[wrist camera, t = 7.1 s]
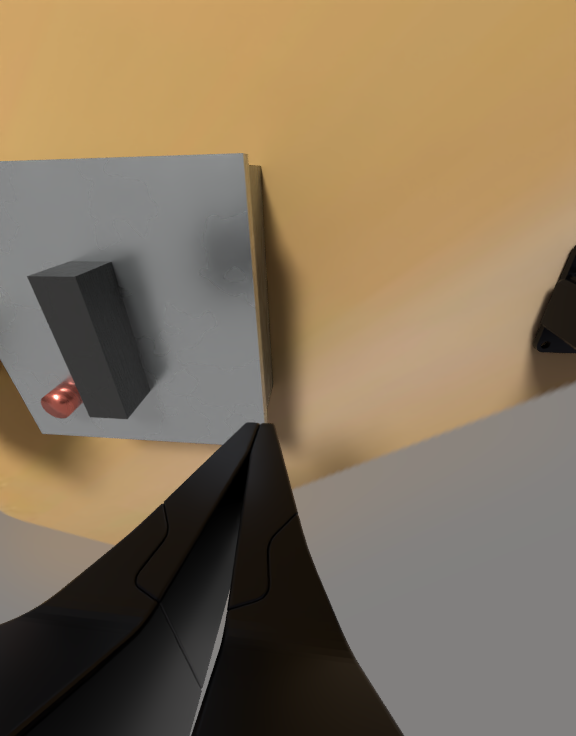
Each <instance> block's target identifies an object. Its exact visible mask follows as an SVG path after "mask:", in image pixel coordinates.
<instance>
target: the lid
mask: <svg viewBox="0 0 576 736" xmlns="http://www.w3.org/2000/svg"><path fill="white" fill-rule="evenodd" d="M0 360H1V361H2V363H3V365H4V367H5V368H6V370H7V372H8V374H9V376H10V377H11V379H12V381H13V383H14V384H15V386H16V388H17V390H18V391H19V393H20V395H21V397H22V399H23V400H24V402H25V404H26V406H27V407H28V409H29V411H30V413H31V415H32V416H33V418H34V420H35V422H36V423H37V425H38V427H39V429H40V430H41V432H42V434H56V435H72V436H88V437H105V438H121V439H137V440H154V441H170V442H186V443H202V444H219V445H223V444H224V443H225V442H226V441H227V440H228V439H229V438H230V437H231V436H233V435H234V434H235V433H236V432H237V431H238V430H239V429H240V428H241V427H242V426H243V425H244V424H245V423H247V422H254V423H259V424H261V423H267V409H266V395H265V382H264V368H263V354H262V341H261V327H260V314H259V300H258V286H257V273H256V259H255V245H254V232H253V218H252V204H251V191H250V177H249V163H248V154H244V153H238V154H207V155H177V156H147V157H117V158H87V159H57V160H27V161H0Z"/></svg>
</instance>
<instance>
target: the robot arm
mask: <svg viewBox="0 0 576 736" xmlns="http://www.w3.org/2000/svg"><path fill="white" fill-rule="evenodd" d="M546 341H547V342H546ZM544 342H546V344H545V345H543V346H541V345H542V343H544ZM533 346H534V348H536V349H537V350H538V351H539V352H552V353H576V246H574V248H573V250H572V252H571V254H570V256H569V259H568V261H567V263H566V266H565V268H564V271H563V273H562V275H561V278H560V280H559V282H558V283H557V284H556V287H555V289H554V291H553V294H552V296H551V299H550V301H549V303H548V306H547V308H546V311H545V313H544V315H543V318H542V320H541V325H540V328H539V330H538V333H537V335H536V337H535V340H534V342H533ZM229 590H230V594H229ZM228 594H229V601H228V608H227V611H228V612H227V615H226V621H225V627H224V632H223V637H222V642H221V646H220V649H219V652H218V655H217V658H216V661H215V665H214V668H213V671H212V674H211V677H210V680H209V684H208V686H207V689H206V693H205V695H204V698H203V701H202V705H201V708H200V711H199V714H198V717H197V720H196V723H195V726H194V729H193V732H192V735H191V736H404V735H403V733H402V731H401V730H400V728H399V727H398V725H397V724H396V722H395V720H394V719H393V717H392V716H391V714H390V712H389V711H388V709H387V708H386V706H385V705H384V704H383V701H382V700H381V698H380V697H379V695H378V694H377V692H376V691H375V689H374V687H373V686H372V684H371V683H370V681H369V679H368V678H367V676H366V675H365V673H364V671H363V670H362V668H361V667H360V665H359V663H358V662H357V660H356V658H355V657H354V655H353V653H352V651H351V649H350V647H349V645H348V643H347V641H346V638H345V636H344V634H343V632H342V630H341V628H340V625H339V623H338V621H337V618H336V616H335V613H334V611H333V609H332V606H331V604H330V601H329V599H328V597H327V594H326V592H325V590H324V587H323V585H322V582H321V580H320V578H319V575H318V573H317V571H316V568H315V565H314V563H313V560H312V557H311V555H310V552H309V549H308V547H307V543H306V540H305V537H304V534H303V530H302V526H301V523H300V519H299V516H298V512H297V508H296V504H295V500H294V496H293V493H292V489H291V485H290V481H289V477H288V474H287V470H286V466H285V462H284V458H283V455H282V451H281V447H280V443H279V440H278V436H277V432H276V428H275V425H274V424H272V423H261V424H259V423H254V422H247V423H245V424H244V425H243V426H242V427H241V428H240V429H239V430H238V431H237V432H236V433H235V434H234V435H233V436H231V437H230V438H229V439H228V440H227V441H226V442H225V443H224V444H223V445H222V446H221V447H220V448H219V449H218V450H217V451H216V452H215V453H214V454H213V455H212V456H211V457H210V458H209V459H208V460H207V461H206V462H205V463H203V464H202V465H201V466H200V467H199V468H198V469H197V470H196V471H195V472H194V473H193V474H192V475H191V476H190V477H189V478H188V479H187V480H186V481H185V482H184V483H183V484H182V485H181V486H180V487H179V488H178V489H177V490H176V491H174V492H173V493H172V494H171V495H170V496H169V497H168V498H167V499H166V500H165V501H164V504H161V505H160V506H159V507H158V508H157V509H156V510H155V511H154V512H153V513H152V514H150V515H149V516H148V517H147V518H146V519H145V520H144V521H143V522H142V523H141V524H140V525H139V526H137V527H136V528H135V529H134V530H133V531H132V532H131V533H130V534H128V535H127V536H126V537H125V538H124V539H122V540H121V541H120V542H119V543H118V544H117V545H115V546H114V547H113V548H112V549H111V550H109V551H108V552H107V553H106V554H104V555H103V556H102V557H101V558H100V559H98V560H97V561H96V562H95V563H94V564H92V565H91V566H90V567H88V569H86V570H85V571H84V572H82V573H81V574H80V575H79V576H77V577H76V578H75V579H74V580H72V581H71V582H70V583H69V584H68V585H67V586H65V587H64V588H63V589H61V590H60V591H59V592H58V593H56V594H55V595H54V596H52V597H51V598H50V599H48V600H47V601H45V602H44V603H42V604H41V605H39V606H38V607H36V608H34V609H33V610H31V611H29V612H27V613H25V614H23V615H21V616H19V617H17V618H15V619H12V620H10V621H8V622H5V623H3V624H0V736H189V735H190V731H191V727H192V724H193V721H194V717H195V713H196V710H197V706H198V702H199V699H200V695H201V692H202V691H201V688H202V687H203V684H204V681H205V677H206V673H207V670H208V666H209V662H210V659H211V655H212V651H213V648H214V644H215V641H216V637H217V634H218V630H219V626H220V623H221V619H222V615H223V612H224V608H225V605H226V601H227V597H228Z"/></svg>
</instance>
